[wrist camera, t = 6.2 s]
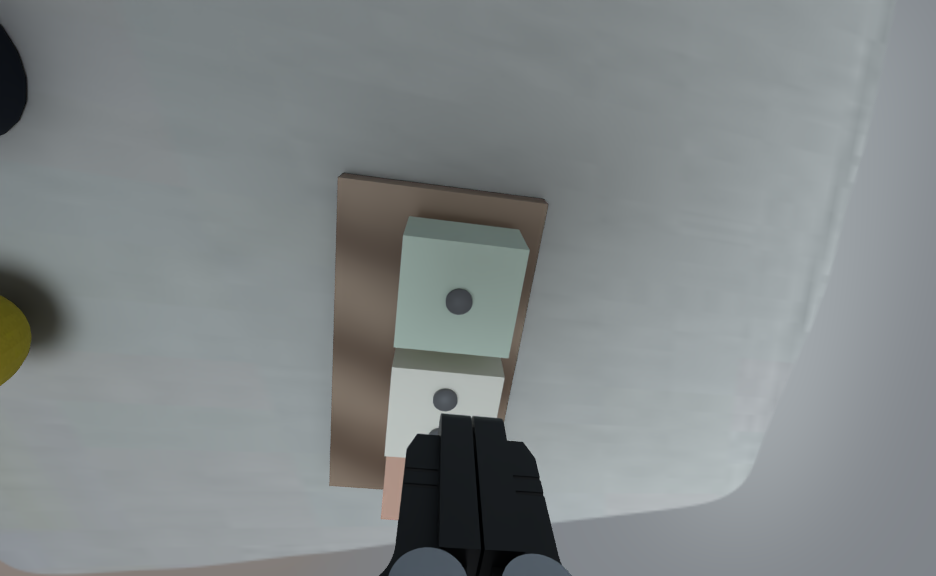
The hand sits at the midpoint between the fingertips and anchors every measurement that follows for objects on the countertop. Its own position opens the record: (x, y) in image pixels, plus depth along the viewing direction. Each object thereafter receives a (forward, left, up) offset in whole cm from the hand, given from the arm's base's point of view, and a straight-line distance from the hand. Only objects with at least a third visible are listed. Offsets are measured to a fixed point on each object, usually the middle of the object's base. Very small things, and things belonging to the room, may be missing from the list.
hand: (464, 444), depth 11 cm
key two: (+6, 0, -11) cm, 13 cm away
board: (+6, -1, -14) cm, 15 cm away
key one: (0, 0, -11) cm, 11 cm away
